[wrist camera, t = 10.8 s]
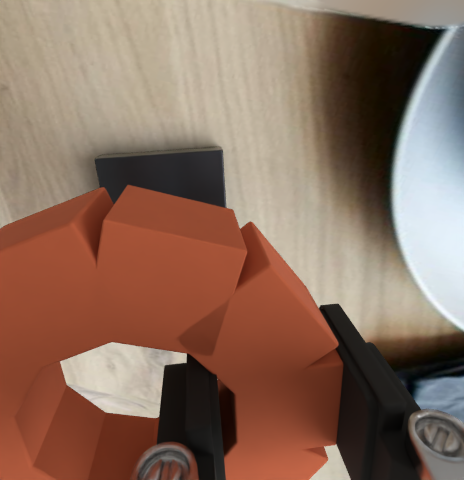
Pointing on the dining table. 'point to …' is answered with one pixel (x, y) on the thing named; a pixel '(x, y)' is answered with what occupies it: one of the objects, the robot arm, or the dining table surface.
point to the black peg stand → (166, 173)
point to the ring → (158, 336)
